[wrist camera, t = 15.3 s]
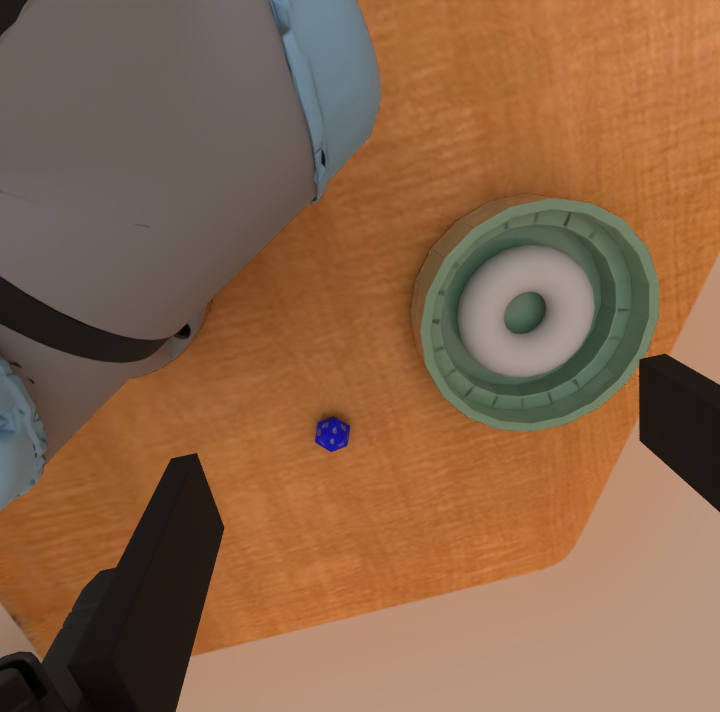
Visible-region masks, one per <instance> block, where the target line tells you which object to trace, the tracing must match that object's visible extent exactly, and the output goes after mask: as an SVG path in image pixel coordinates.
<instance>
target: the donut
mask: <svg viewBox="0 0 720 712" xmlns="http://www.w3.org/2000/svg"><path fill="white" fill-rule="evenodd" d="M526 292H535V293H538V294H540V295H541V296H542V297H543V299H544V301H545V306H546V311H545V316H544V317H543V319H542V321H541V323H540V324H539V325H538V326H537V327H536V328H535V329H533V330H531V331H530V332H527V333H523V334H518V333H513V332H511V331H510V330H509V329H507V327H506V326H505V322H504V314H505V310H506V308H507V306H508V304H509V303H510V302H511V301H512V300H513V298H515V297H516V296H518V295H520V294H522V293H526ZM594 311H595V306H594V295H593V287H592V285H591V283H590V281H589V278H588V276H587V274H586V272H585V270H584V269H583V268H582V267H581V266H580V265H579V264H578V263H577V262H576V261H575V260H574V259H573V258H572V257H571V256H570V255H568V254H567V253H565V252H562V251H560V250H558V249H555V248H553V247H551V246H545V245H528V244H524V245H520V246H517V247H513V248H509V249H505V250H502V251H501V252H499V253H497V254H496V255H494V256H493V257H491V258H489V259H488V260H486V261H485V262H483V263H482V265H481V266H480V267H479V268H478V269H477V270H476V271H475V272H474V273H473V275H472V276H471V277H470V278H469V279H468V282H467V284H466V286H465V288H464V290H463V292H462V294H461V296H460V300H459V307H458V314H457V322H458V327H459V332H460V337H461V341H462V342H463V344H464V346H465V347H466V349H467V351H468V353H469V354H470V356H471V357H472V358H473V359H474V360H476V361H477V362H478V363H479V364H480V365H482V366H483V367H484V368H485V369H487V370H488V371H491V372H494V373H497V374H500V375H502V376H505V377H522V378H527V377H531V376H535V375H539V374H543V373H547V372H549V371H551V370H552V369H554V368H556V367H558V366H559V365H561V364H563V363H565V362H566V361H567V360H568V359H569V358H570V357H571V356H572V355H573V354H574V353H575V352H576V351H577V350H578V349H579V348H580V346H581V345H582V343H583V341H584V339H585V338H586V336H587V334H588V332H589V331H590V328H591V323H592V319H593V315H594Z"/></svg>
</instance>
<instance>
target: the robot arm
mask: <svg viewBox="0 0 720 712" xmlns="http://www.w3.org/2000/svg"><path fill="white" fill-rule="evenodd" d="M380 102H381V83H380V75H379V69H378V64H377V59H376V55H375V51H374V48H373V44H372V41H371V38H370V35H369V31H368V28H367V26H366V23H365V20H364V17H363V15H362V12H361V10H360V7H359V5H358V2H357V0H0V511H2V510H3V509H4V508H5V507H6V506H7V505H8V504H9V503H10V502H11V501H12V500H15V499H17V498H19V497H21V496H22V495H24V494H26V493H27V492H28V491H29V490H31V489H32V487H33V486H34V485H35V484H36V483H37V481H38V480H39V479H40V477H41V476H42V474H43V469H44V466H45V465H46V464H47V463H48V462H49V460H50V459H51V458H52V457H53V456H54V455H55V454H56V453H57V452H58V451H59V450H60V449H61V447H62V446H63V445H64V444H65V443H66V442H67V441H68V440H69V439H70V438H71V437H72V436H73V435H74V434H75V433H76V432H77V431H78V430H79V429H80V428H81V427H82V426H83V425H84V424H85V423H86V421H87V420H88V419H89V418H90V417H91V416H92V415H93V414H94V413H95V412H96V411H97V410H98V409H99V408H100V407H101V406H102V405H103V404H104V403H105V402H106V401H107V400H108V399H109V398H110V397H111V396H112V395H113V394H114V393H115V392H116V391H117V390H118V389H119V388H120V387H121V386H122V385H123V384H124V383H125V382H126V381H127V380H129V379H131V378H136V377H140V376H144V375H147V374H149V373H152V372H154V371H156V370H158V369H160V368H162V367H164V366H166V365H167V364H169V363H170V362H172V361H173V360H174V359H176V358H177V357H178V356H179V355H180V354H181V353H182V352H183V351H184V350H185V349H186V348H187V347H188V346H189V344H190V343H191V342H192V340H193V339H194V338H195V336H196V335H197V333H198V332H199V330H200V329H201V327H202V325H203V323H204V322H205V320H206V317H207V315H208V312H209V309H210V306H211V302H212V298H213V297H214V296H215V295H216V294H217V293H218V292H219V291H220V290H221V289H222V288H223V287H224V286H225V285H226V284H227V283H228V282H229V281H230V280H231V279H232V278H233V277H234V276H235V275H236V274H237V273H238V272H239V271H240V270H242V269H243V268H244V267H245V266H246V265H247V264H248V263H249V262H250V261H251V260H252V259H253V258H254V257H255V256H256V255H257V254H258V253H259V252H260V251H261V250H262V249H263V248H264V247H265V246H266V245H267V244H268V243H269V242H270V241H271V240H272V239H273V238H274V237H275V236H276V235H277V234H278V233H279V232H280V231H281V230H282V229H283V228H284V227H285V226H286V225H287V224H288V223H289V222H290V221H291V220H292V219H293V218H294V217H295V216H296V215H297V214H298V213H299V212H300V211H302V210H303V209H304V208H305V207H306V206H307V205H308V204H314V203H316V202H317V201H318V200H319V199H320V198H321V197H322V194H323V192H325V191H326V188H327V184H328V182H329V181H330V179H331V178H332V177H333V176H334V175H335V174H336V173H337V172H338V171H339V170H340V169H341V167H342V166H343V165H344V164H345V163H346V162H347V161H348V160H349V159H350V158H351V157H352V156H353V154H354V153H355V152H356V151H357V150H358V149H359V148H360V147H361V146H362V145H363V144H364V142H365V141H366V140H367V139H368V137H369V136H370V133H371V132H372V129H373V127H374V124H375V121H376V116H377V113H378V111H379V109H380ZM639 422H640V424H639V425H640V426H639V427H640V441H641V442H642V443H643V444H644V445H645V446H646V447H647V448H649V449H650V450H651V451H652V452H653V453H654V454H655V455H656V456H657V457H659V458H660V459H661V460H662V461H663V462H664V463H665V464H666V465H668V466H669V467H670V468H671V469H672V470H673V471H674V472H675V473H676V474H678V475H679V476H680V477H681V478H682V479H683V480H684V481H685V482H687V483H688V484H689V485H690V486H691V487H692V488H693V489H694V490H695V491H697V492H698V493H699V494H700V495H701V496H702V497H703V498H705V499H706V500H707V501H708V502H709V503H710V504H711V505H712V506H713V507H715V508H716V509H717V510H718V511H719V512H720V385H719V384H717V383H715V382H714V381H712V380H710V379H708V378H707V377H705V376H703V375H701V374H700V373H698V372H696V371H695V370H693V369H691V368H689V367H688V366H686V365H684V364H682V363H680V362H679V361H677V360H675V359H674V358H672V357H670V356H668V355H667V354H662V355H657V356H652V357H648V358H643V359H639ZM223 531H224V525H223V523H222V520H221V517H220V515H219V512H218V509H217V506H216V504H215V501H214V498H213V496H212V493H211V490H210V487H209V485H208V482H207V479H206V477H205V474H204V471H203V469H202V466H201V463H200V460H199V458H198V455H197V453H195V454H190V455H186V456H181V457H176V458H172V459H171V460H170V462H169V464H168V466H167V468H166V470H165V472H164V474H163V476H162V478H161V480H160V482H159V484H158V486H157V488H156V490H155V492H154V494H153V496H152V498H151V500H150V502H149V504H148V506H147V508H146V510H145V512H144V514H143V516H142V518H141V520H140V522H139V523H138V525H137V527H136V529H135V531H134V533H133V535H132V537H131V539H130V541H129V543H128V545H127V547H126V549H125V551H124V553H123V555H122V557H121V559H120V561H119V563H118V565H117V567H116V568H112V569H107V570H102V571H100V572H99V573H98V574H97V575H96V576H95V577H94V578H93V579H92V580H91V581H90V582H89V583H88V584H87V585H86V586H85V587H84V588H83V590H82V591H81V593H80V595H79V597H78V599H77V600H76V602H75V604H74V606H73V608H72V612H71V613H69V615H68V617H67V618H66V620H65V622H64V624H63V629H60V631H59V633H58V634H57V636H56V638H55V640H54V642H53V643H52V645H51V647H50V649H49V651H48V652H47V654H46V656H45V658H44V660H43V661H42V663H40V662H39V660H38V658H37V657H35V655H33V654H32V653H31V652H16V653H14V654H10V655H7V656H4V657H2V658H0V712H176V708H177V704H178V701H179V697H180V693H181V689H182V686H183V682H184V678H185V674H186V671H187V667H188V663H189V659H190V656H191V652H192V648H193V644H194V641H195V637H196V633H197V629H198V626H199V622H200V618H201V614H202V610H203V607H204V603H205V599H206V595H207V592H208V588H209V584H210V580H211V577H212V573H213V569H214V565H215V562H216V558H217V554H218V550H219V547H220V543H221V539H222V535H223Z"/></svg>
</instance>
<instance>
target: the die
mask: <svg viewBox="0 0 720 712" xmlns="http://www.w3.org/2000/svg"><path fill="white" fill-rule="evenodd" d="M349 431H350V426H349V425H347V424H346V423H344V422H342V421H341V420H339V419H337V418H336V417H332V418H329V419H326V420H322V421H319V422H318V425H317V432H316V439H315V442H316V443H317V444H319V445H320V446H322V447H324V448H325V449H327V450H328V451H330V452H333V451H335V450H338V449H341V448H343V447H346V446H347V444H348V437H349Z"/></svg>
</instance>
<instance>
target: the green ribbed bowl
mask: <svg viewBox="0 0 720 712" xmlns="http://www.w3.org/2000/svg"><path fill="white" fill-rule="evenodd" d="M524 244H528V245H545V246H551V247H553V248H555V249H558V250H560V251H562V252H565V253H567V254H568V255H570V256H571V257H572V258H573V259H574V260H575V261H576V262H577V263H578V264H579V265H580V266H581V267H582V268H583V269H584V270H585V272H586V274H587V276H588V278H589V281H590V283H591V285H592V287H593V295H594V306H595V311H594V315H593V319H592V323H591V328H590V331H589V332H588V334H587V336H586V338H585V339H584V341H583V343H582V345H581V346H580V348H579V349H578V350H577V351H576V352H575V353H574V354H573V355H572V356H571V357H570V358H569V359H568V360H567V361H566V362H565V363H563V364H561V365H559V366H558V367H556V368H554V369H552V370H551V371H549V372H547V373H543V374H539V375H535V376H531V377H527V378H522V377H505V376H502V375H500V374H497V373H494V372H491V371H488V370H487V369H485V368H484V367H483V366H482V365H480V364H479V363H478V362H477V361H476V360H474V359H473V358H472V357H471V356H470V354H469V353H468V351H467V349H466V347H465V346H464V344H463V342H462V341H461V337H460V332H459V327H458V322H457V314H458V307H459V300H460V296H461V294H462V292H463V290H464V288H465V286H466V284H467V282H468V279H469V278H470V277H471V276H472V275H473V273H474V272H475V271H476V270H477V269H478V268H479V267H480V266H481V265H482V263H483V262H485V261H486V260H488V259H489V258H491V257H493V256H494V255H496V254H497V253H499V252H501V251H502V250H505V249H509V248H513V247H517V246H520V245H524ZM545 311H546V306H545V301H544V299H543V297H542V296H541V295H540V294H538V293H535V292H526V293H522V294H520V295H518V296H516V297H515V298H513V300H512V301H511V302H510V303H509V304H508V306H507V308H506V310H505V314H504V322H505V326H506V327H507V329H509V330H510V331H511V332H513V333H518V334H523V333H527V332H530V331H531V330H533V329H535V328H536V327H537V326H538V325H539V324H540V323H541V321H542V319H543V317H544V316H545ZM410 317H411V323H412V329H413V334H414V340H415V346H416V348H417V350H418V352H419V354H420V356H421V358H422V360H423V362H424V364H425V366H426V368H427V370H428V372H429V374H430V375H431V377H432V379H433V381H434V382H435V384H436V386H437V388H438V390H439V391H440V393H441V395H442V396H443V397H444V398H445V399H446V400H447V401H449V402H450V403H451V404H452V405H453V406H454V407H456V408H457V409H458V410H459V411H460V412H461V413H463V414H464V415H465V416H466V417H468V418H471V419H473V420H476V421H478V422H481V423H483V424H486V425H488V426H491V427H493V428H496V429H501V430H515V431H529V432H531V431H537V430H542V429H546V428H551V427H556V426H561V425H565V424H568V423H570V422H572V421H574V420H576V419H578V418H580V417H582V416H584V415H586V414H588V413H590V412H592V411H594V410H596V409H598V407H600V406H601V405H602V404H603V403H605V402H606V401H607V400H608V399H609V398H610V397H611V396H613V395H614V394H615V393H616V392H617V391H618V390H619V389H621V388H622V387H623V386H624V385H625V384H626V383H627V382H628V380H629V379H630V377H631V376H632V374H633V373H634V371H635V370H636V368H637V367H638V365H639V359H643V358H644V356H645V355H646V352H648V349H649V345H650V342H651V339H652V336H653V333H654V330H655V327H656V324H657V321H658V317H659V280H658V277H657V274H656V271H655V268H654V265H653V262H652V259H651V256H650V254H649V251H648V248H647V247H646V245H645V244H644V243H643V242H642V241H641V239H640V238H639V237H638V236H637V235H636V234H635V232H634V231H633V230H632V229H631V228H630V227H629V225H628V224H627V223H626V222H625V221H624V220H623V219H621V218H619V217H617V216H616V215H614V214H612V213H610V212H608V211H606V210H604V209H602V208H600V207H598V206H596V205H594V204H593V203H590V202H584V201H578V200H572V199H566V198H560V197H552V196H544V195H535V194H522V195H517V196H513V197H508V198H503V199H499V200H494V201H491V202H488V203H486V204H485V205H483V206H481V207H479V208H478V209H476V210H474V211H472V212H471V213H469V214H467V215H465V216H464V217H462V218H460V219H458V221H456V222H455V223H454V224H453V225H452V226H451V227H450V228H449V230H448V231H447V232H446V233H445V234H444V235H443V236H442V237H441V238H440V239H439V240H438V241H437V242H436V243H435V244H434V246H433V247H432V248H431V249H430V251H429V253H428V255H427V257H426V259H425V261H424V264H423V266H422V268H421V270H420V272H419V274H418V276H417V278H416V281H415V285H414V291H413V298H412V304H411V311H410Z"/></svg>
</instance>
